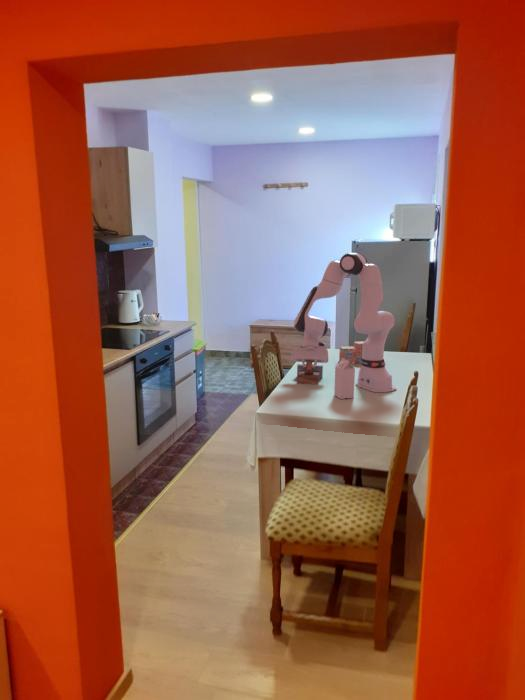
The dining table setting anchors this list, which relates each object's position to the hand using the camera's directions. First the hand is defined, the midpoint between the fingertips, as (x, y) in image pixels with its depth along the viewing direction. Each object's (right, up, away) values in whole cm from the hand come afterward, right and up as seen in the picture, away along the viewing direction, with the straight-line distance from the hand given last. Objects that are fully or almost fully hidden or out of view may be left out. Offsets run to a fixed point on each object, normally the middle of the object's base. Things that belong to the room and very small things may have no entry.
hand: (309, 368), depth 309 cm
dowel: (0, -4, +2) cm, 4 cm away
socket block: (0, -7, +2) cm, 8 cm away
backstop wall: (+1, -5, +9) cm, 11 cm away
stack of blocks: (+34, +2, +47) cm, 58 cm away
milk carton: (+15, -14, -25) cm, 33 cm away
